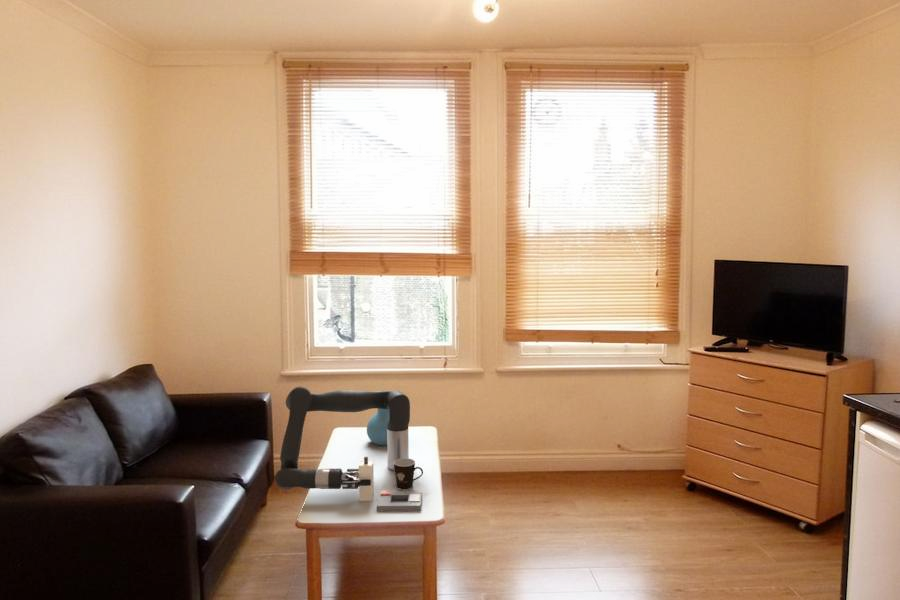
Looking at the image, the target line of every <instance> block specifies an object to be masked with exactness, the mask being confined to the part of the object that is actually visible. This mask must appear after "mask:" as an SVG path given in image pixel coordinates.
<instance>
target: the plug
mask: <svg viewBox="0 0 900 600" xmlns="http://www.w3.org/2000/svg"><path fill="white" fill-rule="evenodd" d="M358 469H359V479H360V481H361V479H370V480H371V485H370V486H360V487H358V489H359V490H358V492H359V493H358V495H359V496H358V497H359V499H358V500H359V502H373V500H374V497H375V490H374V489H375V485H374V482H375V481H374V479H375V478H374V460H369V456H363V461H361V460H360V461H359V464H358Z"/></svg>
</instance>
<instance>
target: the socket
mask: <svg viewBox="0 0 900 600" xmlns="http://www.w3.org/2000/svg"><path fill="white" fill-rule="evenodd" d="M421 506H422V491H395V492H394V491H391V490H388V491H386V490H385V491H384V490H383V491H382V490H381V491H380V492H379V494H378V499H377V504H376V512H413V511H415V512H419V511H421V508H422V507H421Z"/></svg>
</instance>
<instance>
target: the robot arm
mask: <svg viewBox="0 0 900 600" xmlns="http://www.w3.org/2000/svg"><path fill="white" fill-rule="evenodd" d="M380 391H381V392H377V391H372V390H371V391H370V390H357V389H356V390H355V389H340V390H339V389H338V390H333V391H327V392H323V393H320V392H319V393H314V392H311V391H310V390H309V389H308V388H307V387H305V386H302V385H301V386H296V387H294V388H293V389H291V391H289V393H288V394H287V396H286V398H285V406H286V408H287V409H288V410H289V415H288V420H287V424H286V429H285V432H284V435H283V439H282V444H281V449H280V457H279V459H280V460H279V461H280V470H278V471H277V472H275V475H274V483H275V485H276V486H278V487H279V488H280V489H282V490H285V491H288V490H289V491H290V490H292V489H293V488H303V489H309V490H310V489H318V490H340V489H341V488H342V490H357V489H359V487H360V486H370V485H371V480H370V479H361V481H360V479H359V468H347V469H346V471H345V472H343V470H342V468H320V469H316V468H315V469H300V468H299V466H298V464H299V458H300V452H301V451H300V450H301V444H302V438H303V429H304V425H305V421H306V416H307V413H308V412H330V413H331V412H333V413H335V412H336V413H359V412H363V411H366V410H367V411H368V410H371V409H377V410H378V409H387V410H389V421H388V422H387V445H386V447H387V448H386V449H387V468H388V469H389V470H391V471H392V470H393V471H395V470H394V461H395V460H398V459H403V458H407V459H410V458H409V457H410V455H409V452H410V451H409V449H410V448H409V424H410V421H411V420H410V417H411V402H410V399H409V397H408V396H407V395H406V394H404V392H403V391H400V390H395V389H394V390H392V389H391V390H385V391H383V390H380Z"/></svg>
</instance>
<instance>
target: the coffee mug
mask: <svg viewBox="0 0 900 600" xmlns="http://www.w3.org/2000/svg"><path fill="white" fill-rule="evenodd" d="M417 469H419V470H420V472H421V474H420V475H419V476H417V477H416V478H414V476H415V475H414V474H415V471H416V470H417ZM393 471H394V475H395V476H394V477H395V482H396V488H397V489H399V490H403V491H404V490H409V489H412V488H413V483H414V481H417V480H418V479H420V478H421V477H422V476H423V475H424V470H423V469H422V467H420V466H416V461H415V460H414V459H412V458H409V459H407V458H403V459H398V460H395V461H394V470H393Z"/></svg>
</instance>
